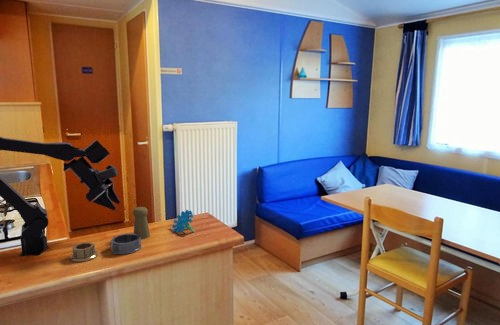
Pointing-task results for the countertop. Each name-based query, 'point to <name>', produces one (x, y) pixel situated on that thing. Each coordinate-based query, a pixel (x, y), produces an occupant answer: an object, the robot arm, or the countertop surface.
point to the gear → (183, 222)
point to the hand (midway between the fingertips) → (117, 206)
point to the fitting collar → (125, 244)
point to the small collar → (84, 252)
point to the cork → (141, 222)
